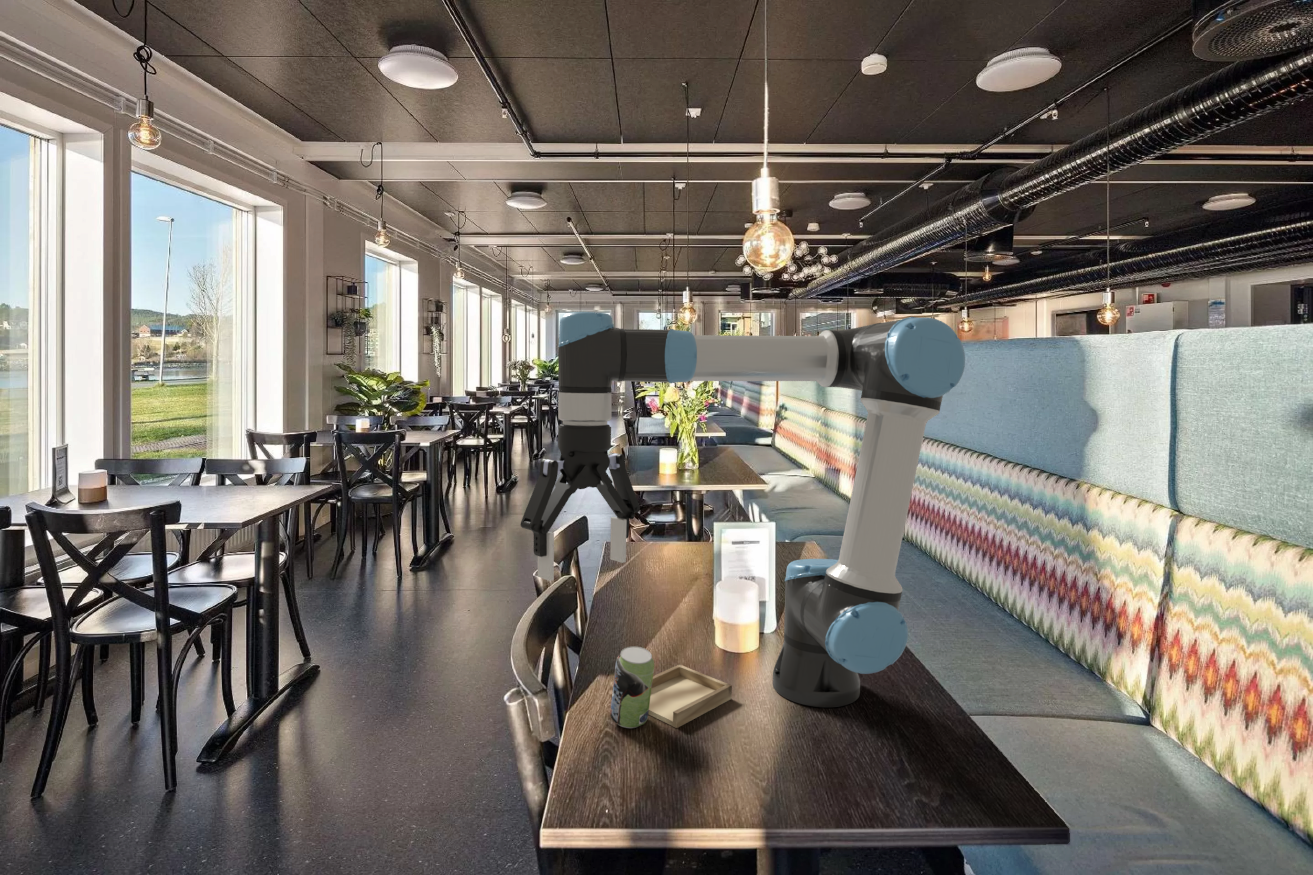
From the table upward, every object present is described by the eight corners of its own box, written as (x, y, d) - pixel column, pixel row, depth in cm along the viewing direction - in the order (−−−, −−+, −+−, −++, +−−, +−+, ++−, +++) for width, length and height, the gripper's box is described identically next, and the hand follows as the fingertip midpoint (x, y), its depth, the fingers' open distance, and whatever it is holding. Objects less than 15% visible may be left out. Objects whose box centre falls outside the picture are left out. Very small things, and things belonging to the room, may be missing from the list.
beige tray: (731, 698, 118) (731, 685, 117) (676, 728, 107) (677, 713, 107) (679, 676, 126) (679, 664, 126) (623, 702, 116) (624, 688, 115)
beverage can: (627, 708, 113) (628, 638, 112) (662, 723, 109) (663, 650, 108) (601, 723, 109) (601, 649, 108) (636, 739, 104) (637, 662, 103)
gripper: (630, 418, 109) (628, 549, 111) (494, 424, 91) (494, 580, 93) (664, 421, 104) (661, 558, 106) (527, 428, 86) (527, 593, 88)
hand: (583, 569), depth 100 cm, fingers open, 13 cm apart
